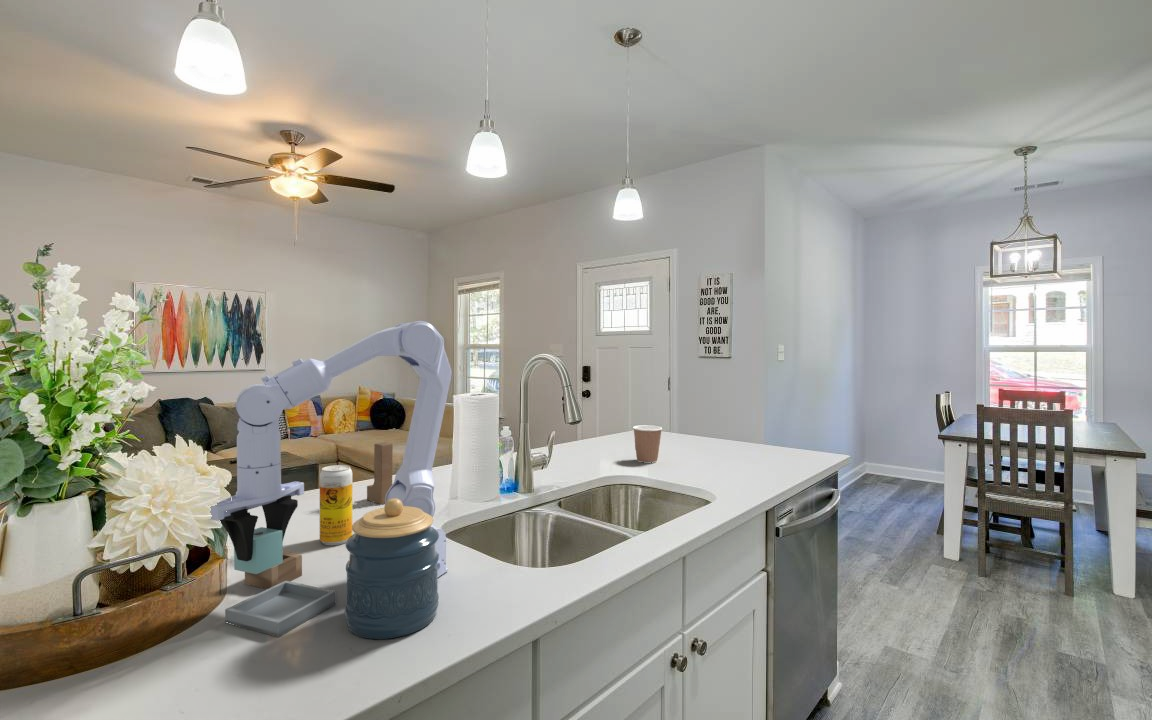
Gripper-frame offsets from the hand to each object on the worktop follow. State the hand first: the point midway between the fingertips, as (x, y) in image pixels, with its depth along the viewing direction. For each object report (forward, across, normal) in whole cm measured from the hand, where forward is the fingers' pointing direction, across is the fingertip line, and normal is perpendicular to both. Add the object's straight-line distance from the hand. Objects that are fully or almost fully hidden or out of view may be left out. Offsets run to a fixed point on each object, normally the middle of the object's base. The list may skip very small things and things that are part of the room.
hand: (260, 553), depth 81 cm
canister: (+9, -5, +20) cm, 23 cm away
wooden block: (+9, -52, -22) cm, 57 cm away
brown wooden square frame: (+8, -8, -6) cm, 13 cm away
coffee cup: (+9, -127, +30) cm, 131 cm away
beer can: (+9, -26, -11) cm, 29 cm away
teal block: (+2, 0, 0) cm, 2 cm away
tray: (+8, 0, +5) cm, 9 cm away
